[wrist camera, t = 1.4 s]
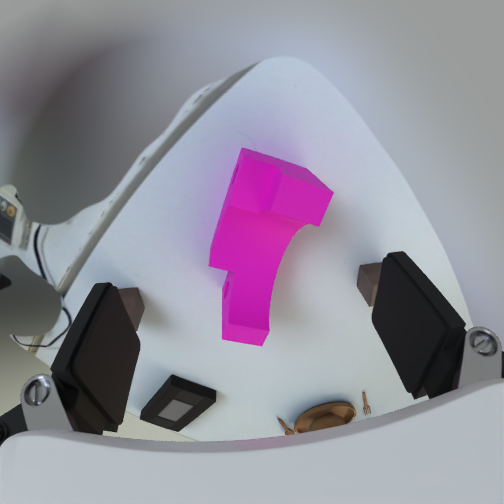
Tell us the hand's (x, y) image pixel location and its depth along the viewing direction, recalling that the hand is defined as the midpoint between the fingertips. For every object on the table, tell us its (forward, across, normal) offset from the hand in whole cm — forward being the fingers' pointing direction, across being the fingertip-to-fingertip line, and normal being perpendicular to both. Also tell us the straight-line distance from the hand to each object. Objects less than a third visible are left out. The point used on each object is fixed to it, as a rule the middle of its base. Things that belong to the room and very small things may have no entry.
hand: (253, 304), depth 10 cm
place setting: (+18, -13, +49) cm, 54 cm away
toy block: (+18, 0, +6) cm, 19 cm away
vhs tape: (+18, +14, +35) cm, 42 cm away
